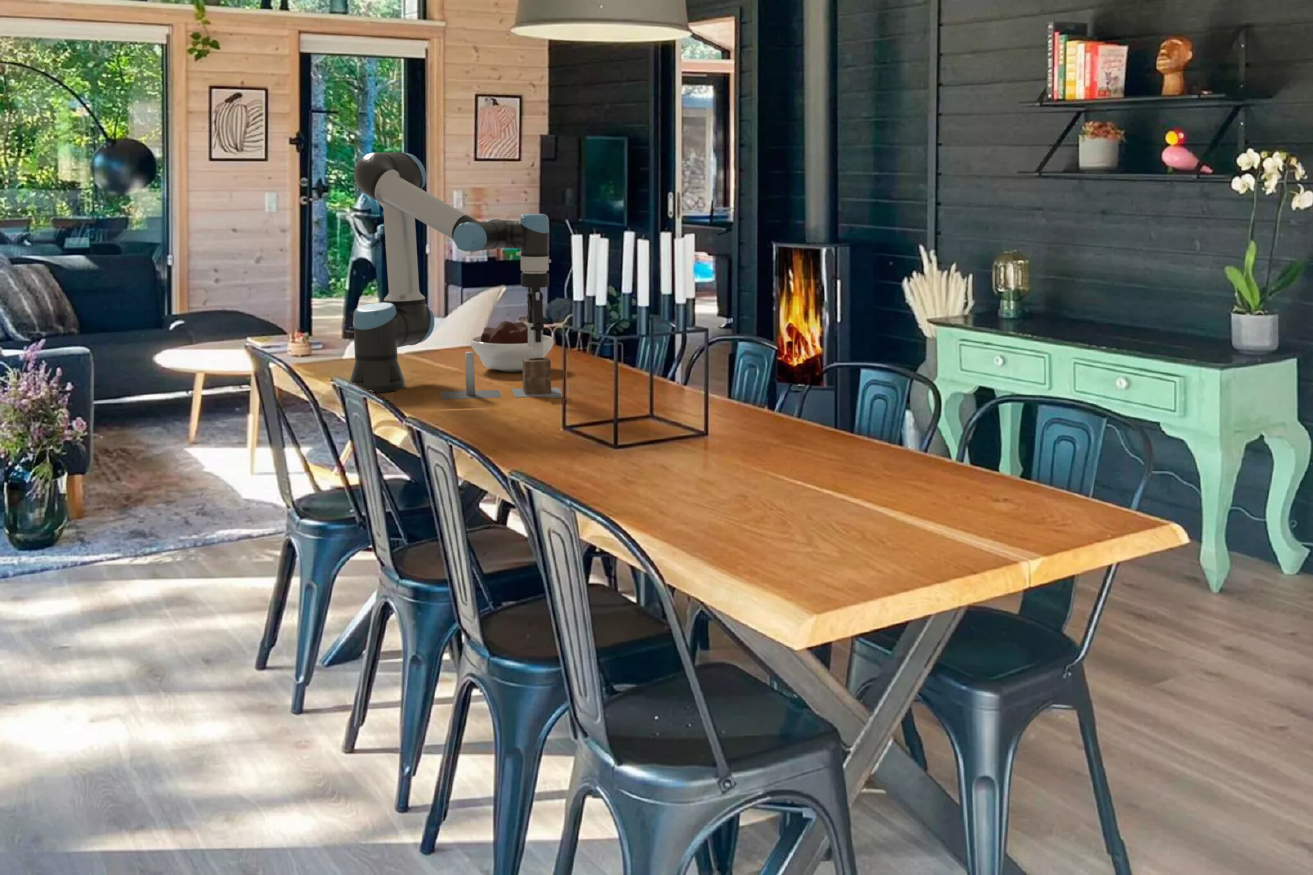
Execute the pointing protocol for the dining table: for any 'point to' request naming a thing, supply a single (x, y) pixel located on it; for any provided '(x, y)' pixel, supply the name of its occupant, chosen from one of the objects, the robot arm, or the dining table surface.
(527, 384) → the walnut collar
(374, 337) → the robot arm
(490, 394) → the post stand
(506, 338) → the white ceramic bowl
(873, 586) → the dining table surface
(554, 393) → the slate mat
